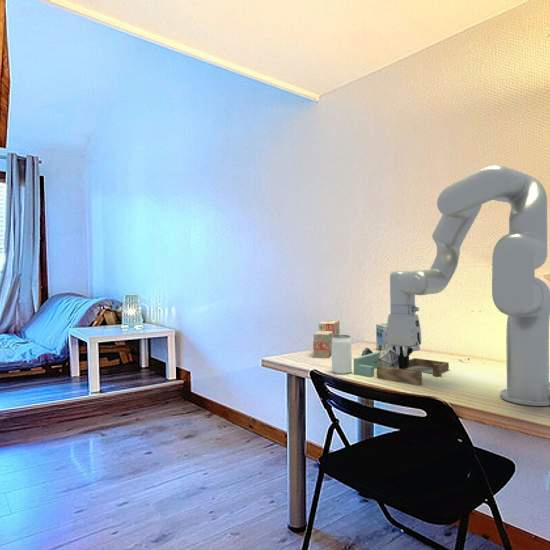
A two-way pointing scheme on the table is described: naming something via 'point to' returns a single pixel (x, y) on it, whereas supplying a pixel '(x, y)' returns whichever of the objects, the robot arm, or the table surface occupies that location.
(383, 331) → the light bulb box
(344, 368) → the can
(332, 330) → the stack of blocks
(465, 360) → the table surface
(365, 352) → the snack package
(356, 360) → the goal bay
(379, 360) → the game die
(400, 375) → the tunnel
